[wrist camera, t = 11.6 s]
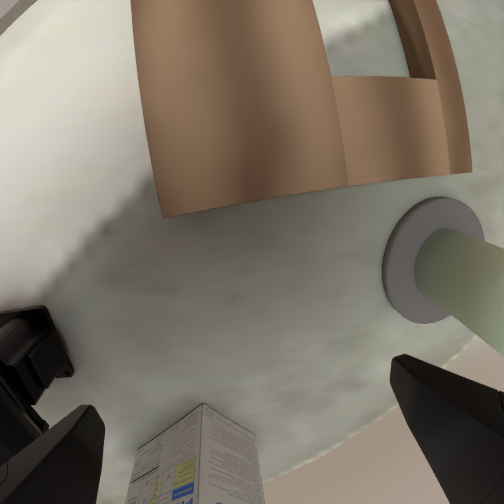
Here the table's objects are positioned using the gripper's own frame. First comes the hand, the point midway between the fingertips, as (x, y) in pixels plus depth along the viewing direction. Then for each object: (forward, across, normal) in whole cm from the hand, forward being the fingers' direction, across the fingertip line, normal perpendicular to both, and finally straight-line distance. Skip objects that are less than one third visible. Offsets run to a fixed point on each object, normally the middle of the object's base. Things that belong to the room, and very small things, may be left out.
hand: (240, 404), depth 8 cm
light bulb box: (+13, +7, +17) cm, 23 cm away
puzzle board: (+13, -7, -12) cm, 19 cm away
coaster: (+13, -15, +3) cm, 20 cm away
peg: (+12, -15, +3) cm, 20 cm away
